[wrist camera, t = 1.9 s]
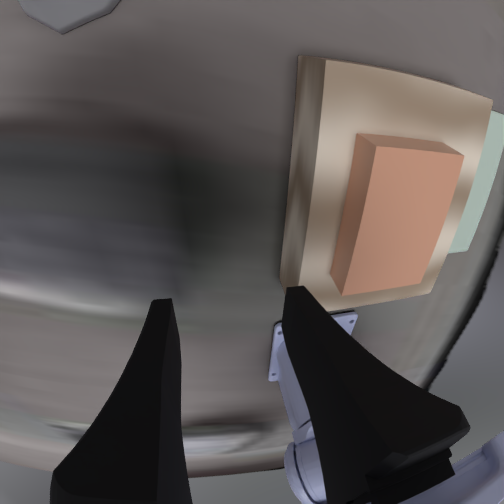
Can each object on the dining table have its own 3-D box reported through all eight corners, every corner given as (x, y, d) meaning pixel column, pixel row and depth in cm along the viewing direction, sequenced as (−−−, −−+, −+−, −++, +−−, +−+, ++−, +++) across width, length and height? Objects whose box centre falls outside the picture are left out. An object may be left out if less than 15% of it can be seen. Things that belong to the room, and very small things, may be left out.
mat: (464, 247, 27) (467, 250, 27) (410, 254, 26) (413, 257, 26) (506, 115, 19) (510, 117, 19) (452, 97, 18) (456, 99, 18)
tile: (406, 264, 21) (420, 283, 19) (329, 274, 20) (341, 296, 18) (442, 142, 16) (464, 155, 14) (356, 133, 15) (376, 146, 13)
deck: (407, 263, 27) (429, 293, 24) (279, 278, 25) (293, 316, 22) (454, 85, 17) (493, 100, 14) (298, 55, 15) (325, 59, 12)
